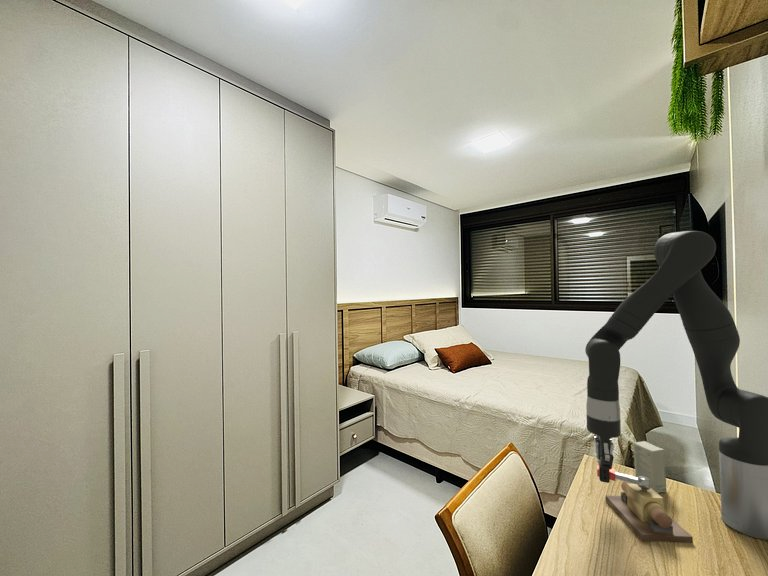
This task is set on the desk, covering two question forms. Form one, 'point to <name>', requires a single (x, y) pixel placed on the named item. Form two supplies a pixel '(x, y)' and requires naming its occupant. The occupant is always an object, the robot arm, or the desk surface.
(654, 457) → the skincare box
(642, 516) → the valve rig
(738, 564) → the desk surface
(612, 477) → the valve lever
